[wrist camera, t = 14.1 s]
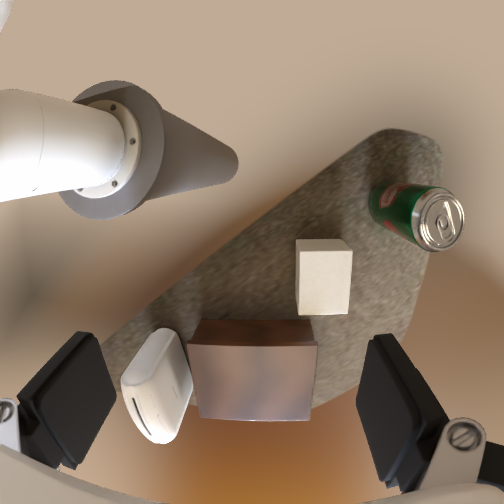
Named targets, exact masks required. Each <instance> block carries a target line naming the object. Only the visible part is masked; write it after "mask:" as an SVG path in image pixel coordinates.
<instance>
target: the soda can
mask: <svg viewBox="0 0 504 504" xmlns="http://www.w3.org/2000/svg"><path fill="white" fill-rule="evenodd" d="M369 211H370V214H371V216H372V218H373V219H374V220H375V222H376V223H378V224H379V225H381V226H383V227H385V228H386V229H388V230H390V231H392V232H394V233H396V234H397V235H399V236H401V237H403V238H405V239H406V240H408V241H410V242H412V243H414V244H415V245H417V246H419V247H421V248H422V249H424V250H426V251H430V252H438V251H443V250H447V249H450V248H451V247H453V246H454V245H455V244H456V243H457V242H458V240H459V239H460V237H461V235H462V233H463V230H464V224H465V216H464V211H463V208H462V205H461V204H460V202H459V201H458V200H457V198H455V196H454V195H453V194H452V193H451V192H450V191H448V190H446V189H444V188H442V187H435V186H428V185H420V184H412V183H403V182H394V181H385V182H382V183H380V184H379V185H377V186H376V187H375V188H374V189H373V191H372V193H371V195H370V198H369Z"/></svg>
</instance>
